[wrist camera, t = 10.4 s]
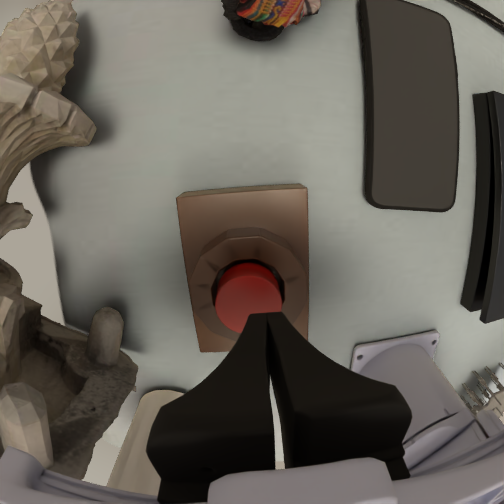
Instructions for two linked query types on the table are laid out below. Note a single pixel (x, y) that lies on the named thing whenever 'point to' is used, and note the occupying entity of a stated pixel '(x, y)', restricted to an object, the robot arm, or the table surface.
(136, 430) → the cup
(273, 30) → the figurine
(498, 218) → the laptop screen
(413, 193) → the smartphone
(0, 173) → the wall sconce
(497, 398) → the building frame
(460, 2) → the black pen
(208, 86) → the table surface
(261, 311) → the button
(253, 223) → the switch block
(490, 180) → the laptop
